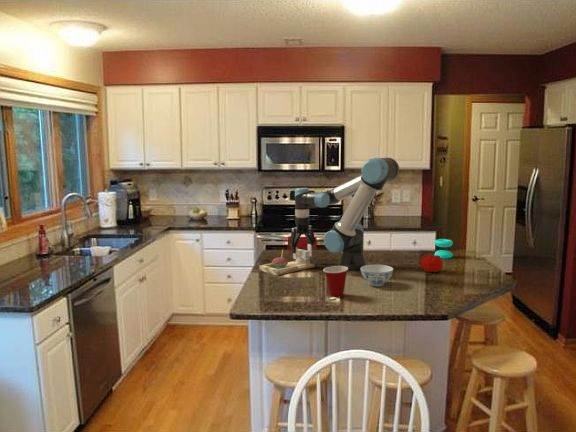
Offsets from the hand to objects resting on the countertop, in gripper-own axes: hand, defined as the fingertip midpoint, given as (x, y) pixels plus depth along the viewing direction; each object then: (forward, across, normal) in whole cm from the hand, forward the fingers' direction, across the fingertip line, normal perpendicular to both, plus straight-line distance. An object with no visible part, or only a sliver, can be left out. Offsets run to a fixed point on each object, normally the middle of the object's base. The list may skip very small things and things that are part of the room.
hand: (302, 257), depth 270 cm
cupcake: (+5, +16, 0) cm, 17 cm away
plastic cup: (+5, +26, +51) cm, 57 cm away
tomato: (+5, -39, +55) cm, 68 cm away
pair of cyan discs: (+5, -73, +40) cm, 83 cm away
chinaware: (+5, 0, +52) cm, 52 cm away
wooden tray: (+4, +11, 0) cm, 12 cm away
